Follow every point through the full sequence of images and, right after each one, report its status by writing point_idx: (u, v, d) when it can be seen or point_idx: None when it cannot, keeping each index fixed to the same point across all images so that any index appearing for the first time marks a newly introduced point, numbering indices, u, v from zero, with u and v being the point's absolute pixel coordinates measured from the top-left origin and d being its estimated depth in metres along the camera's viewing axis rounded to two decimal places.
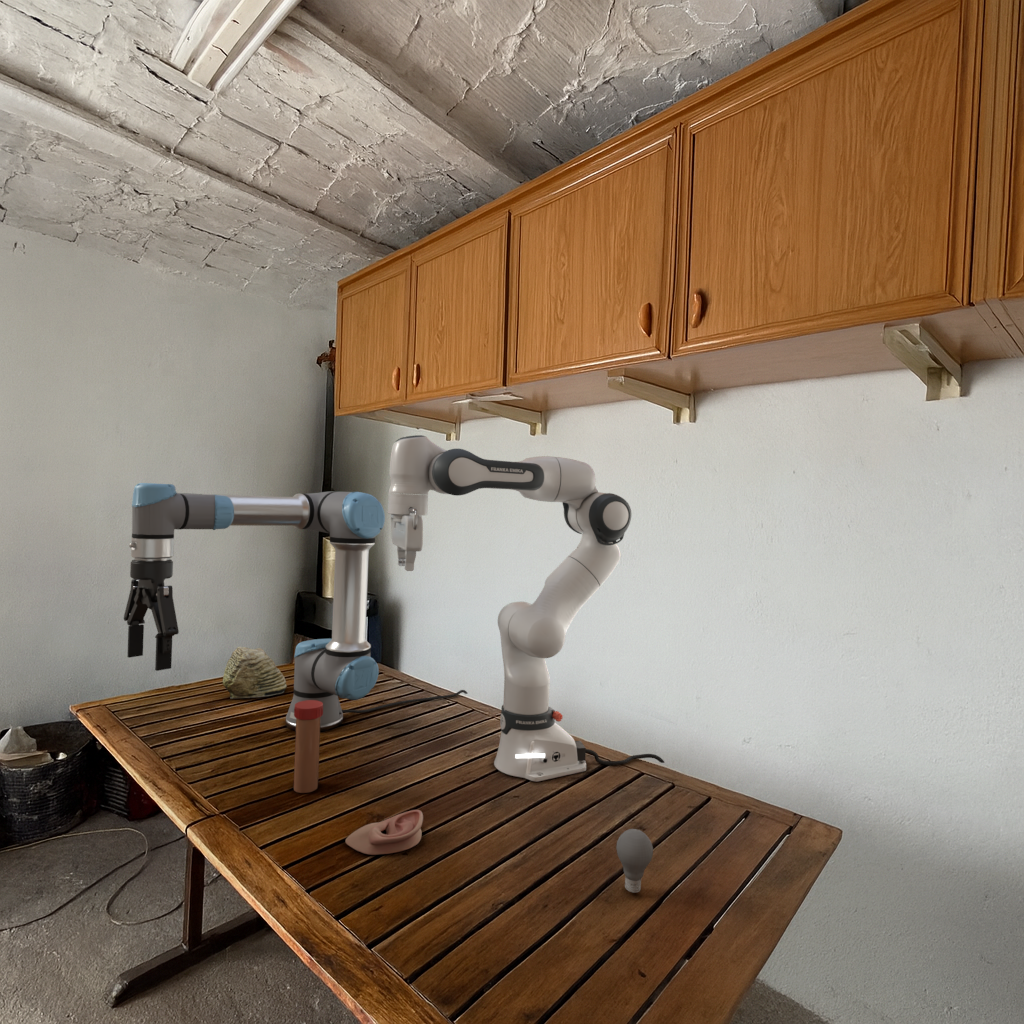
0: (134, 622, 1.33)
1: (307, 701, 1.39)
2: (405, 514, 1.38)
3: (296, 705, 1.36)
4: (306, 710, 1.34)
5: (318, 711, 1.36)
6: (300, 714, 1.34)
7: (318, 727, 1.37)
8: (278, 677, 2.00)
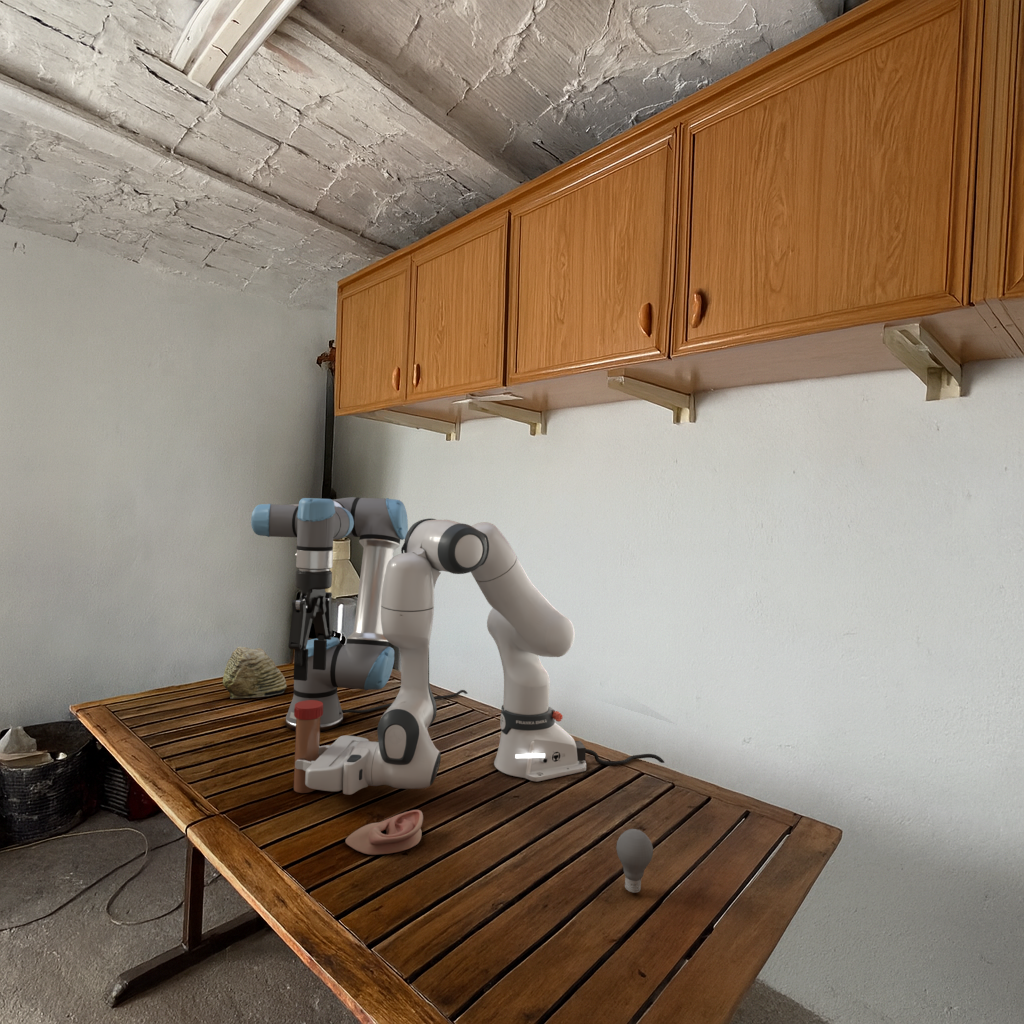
0: (320, 636, 1.42)
1: (307, 701, 1.39)
2: None
3: (296, 705, 1.36)
4: (306, 710, 1.34)
5: (318, 711, 1.36)
6: (300, 714, 1.34)
7: (318, 727, 1.37)
8: (278, 677, 2.00)
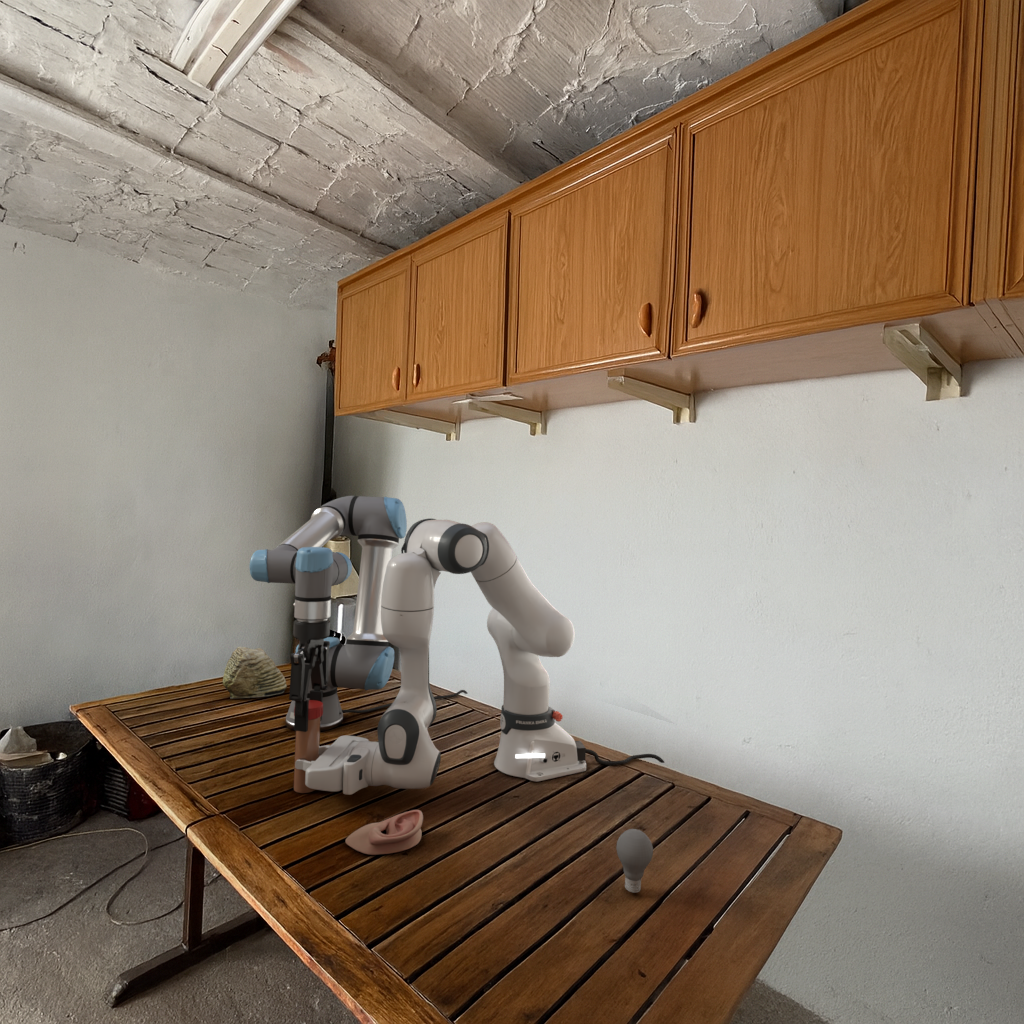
0: (316, 686, 1.41)
1: None
2: None
3: None
4: None
5: (318, 711, 1.36)
6: None
7: (318, 727, 1.37)
8: (278, 677, 2.00)
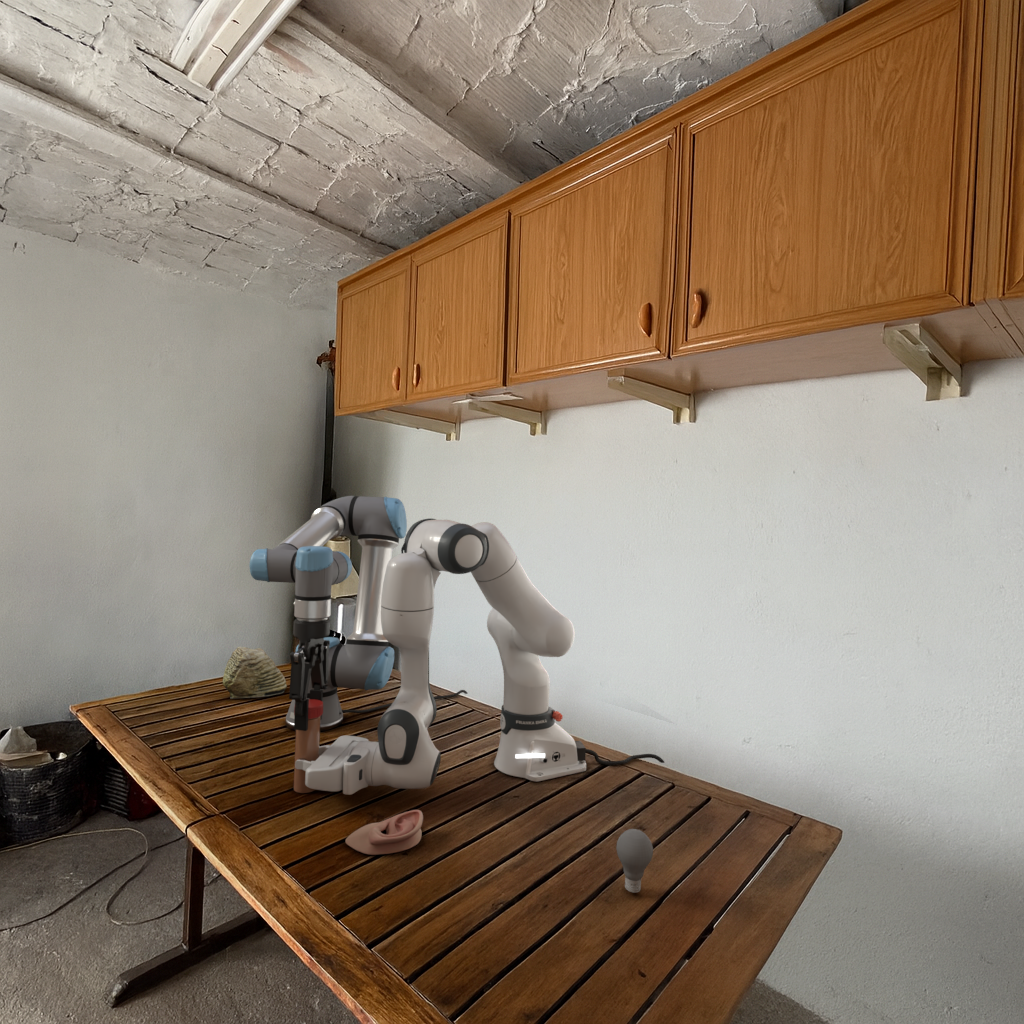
0: (316, 685, 1.41)
1: None
2: None
3: None
4: (320, 707, 1.36)
5: None
6: (315, 712, 1.35)
7: (318, 727, 1.37)
8: (278, 677, 2.00)
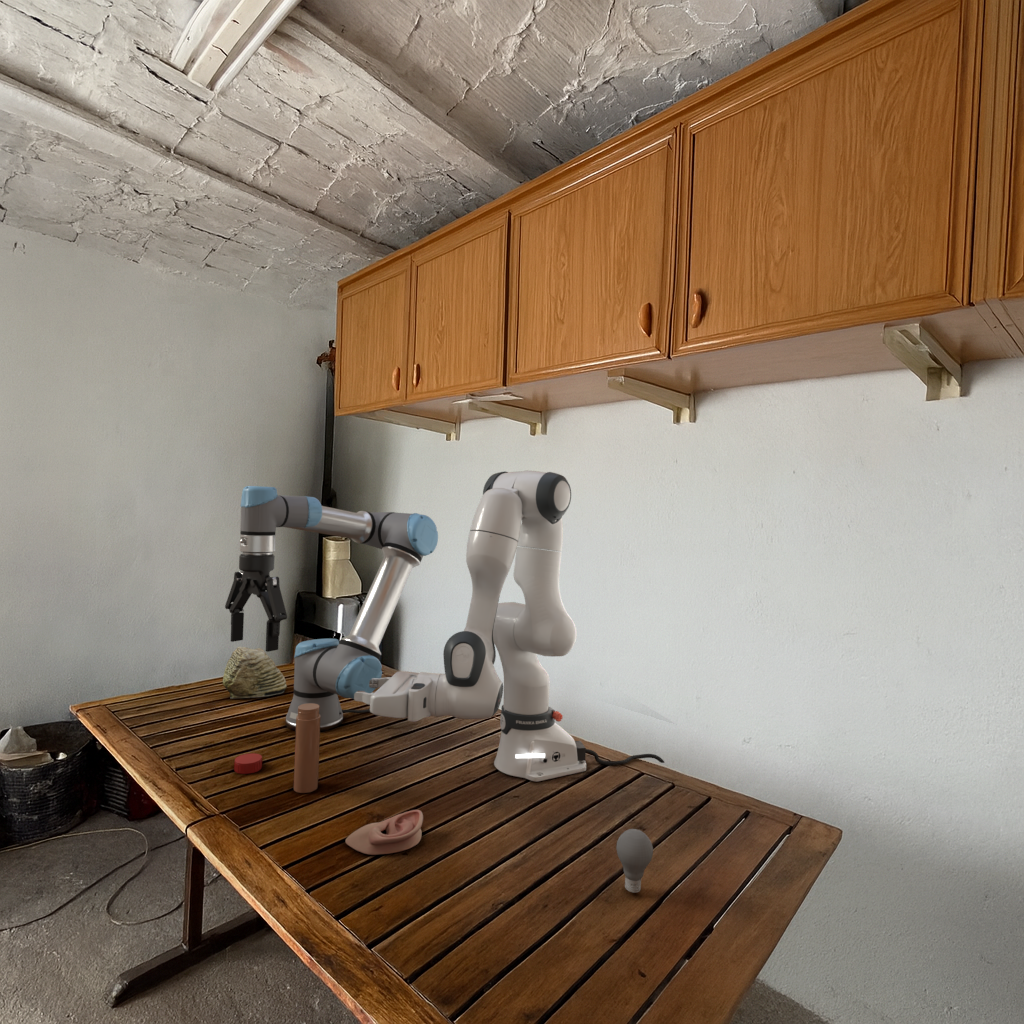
0: (236, 610, 1.49)
1: (251, 761, 1.44)
2: None
3: (260, 755, 1.47)
4: None
5: None
6: None
7: (318, 727, 1.37)
8: (278, 677, 2.00)
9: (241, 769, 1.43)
